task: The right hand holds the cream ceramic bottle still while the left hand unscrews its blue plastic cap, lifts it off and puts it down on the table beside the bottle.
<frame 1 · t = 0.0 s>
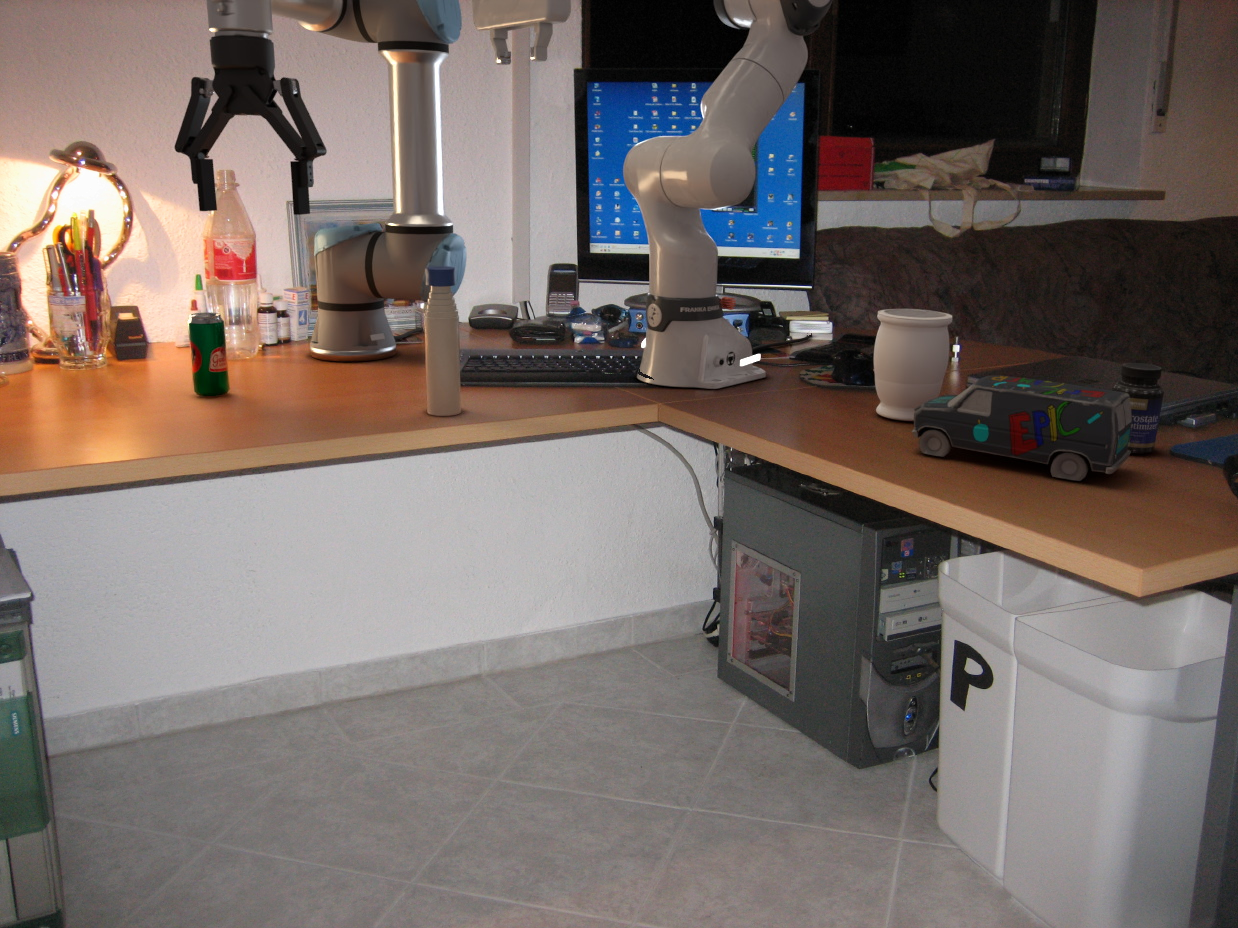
left hand: (254, 213, 138), 28 cm above the table, tool pointing down, fingers open, 13 cm apart
right hand: (520, 63, 148), 48 cm above the table, tool pointing down, fingers open, 8 cm apart
jar: (904, 416, 156), on the table
cap: (440, 270, 148), point 20 cm above the table, screwed on, not yet turned
toy van: (1015, 461, 135), on the table
pill bottle: (1128, 449, 141), on the table
soda can: (212, 395, 161), on the table
bottle: (444, 412, 154), on the table
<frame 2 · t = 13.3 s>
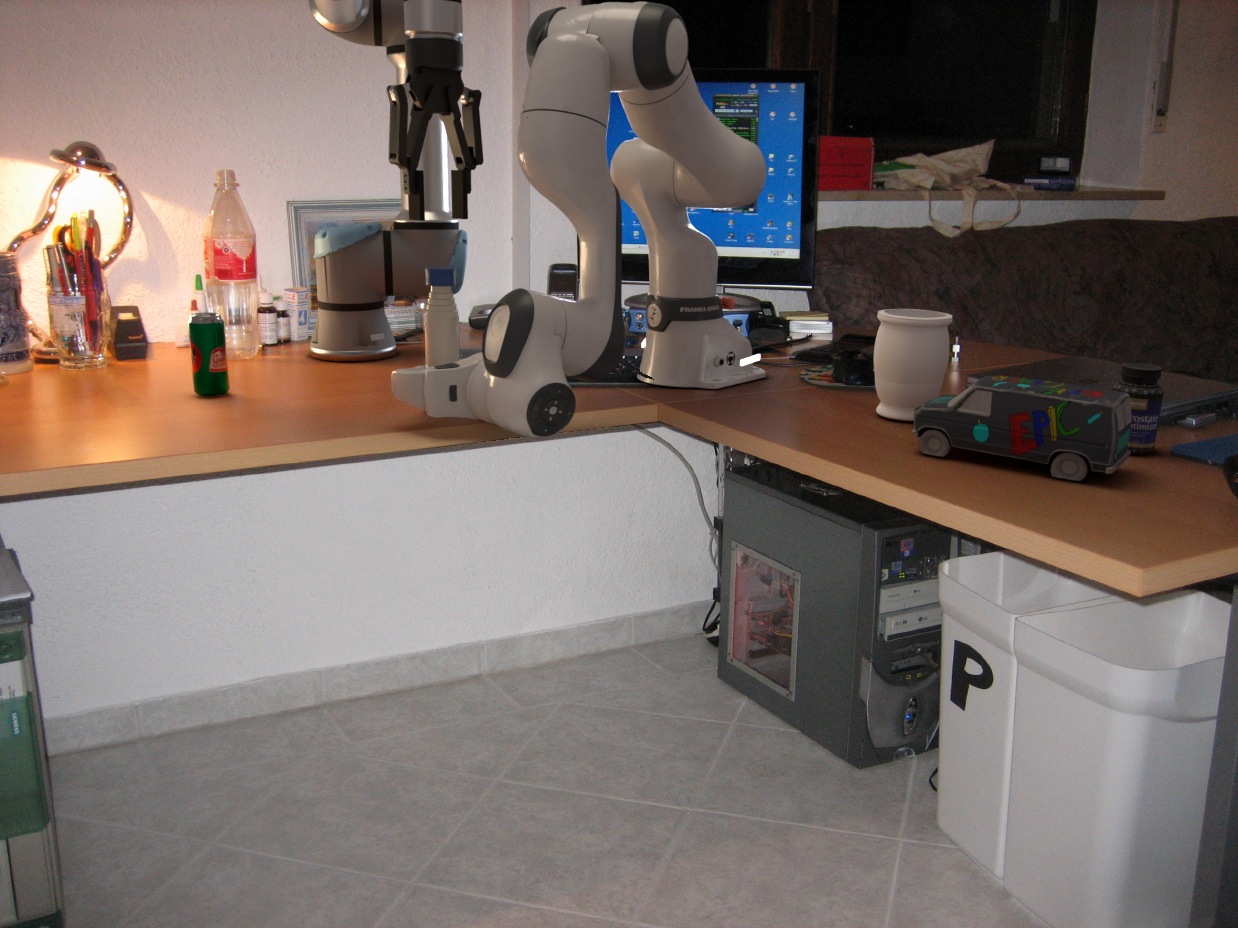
left hand: (438, 219, 146), 27 cm above the table, tool pointing down, fingers open, 6 cm apart
right hand: (439, 369, 153), 6 cm above the table, tool horizontal, fingers closed on bottle, 5 cm apart
bottle: (444, 412, 154), on the table, touching right hand
everything else where it was.
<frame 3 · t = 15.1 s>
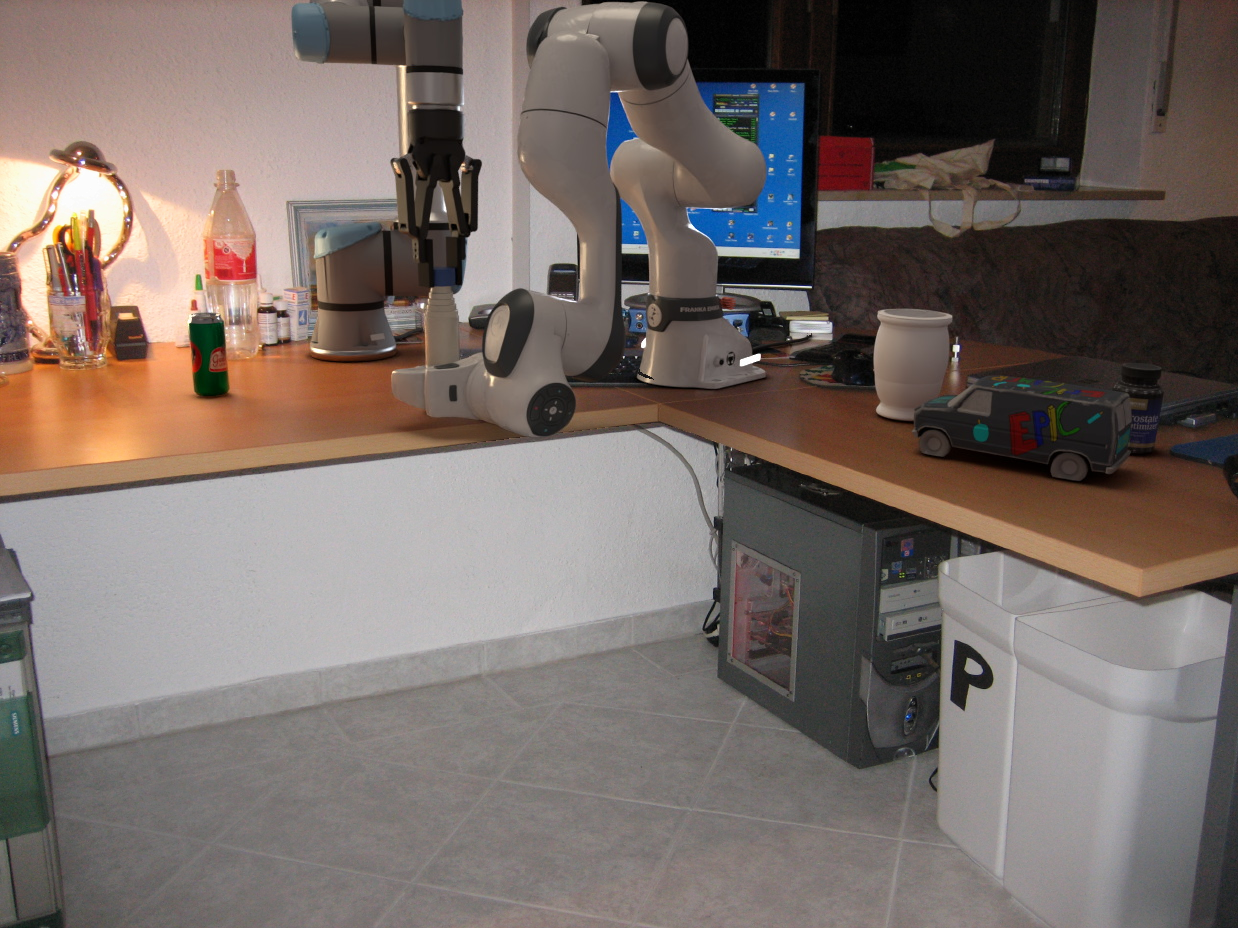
left hand: (440, 285, 149), 18 cm above the table, tool pointing down, fingers closed on cap, 4 cm apart
right hand: (439, 369, 153), 6 cm above the table, tool horizontal, fingers closed on bottle, 5 cm apart
cap: (440, 270, 148), point 20 cm above the table, screwed on, not yet turned, touching left hand
bottle: (444, 412, 154), on the table, touching right hand
everything else where it was.
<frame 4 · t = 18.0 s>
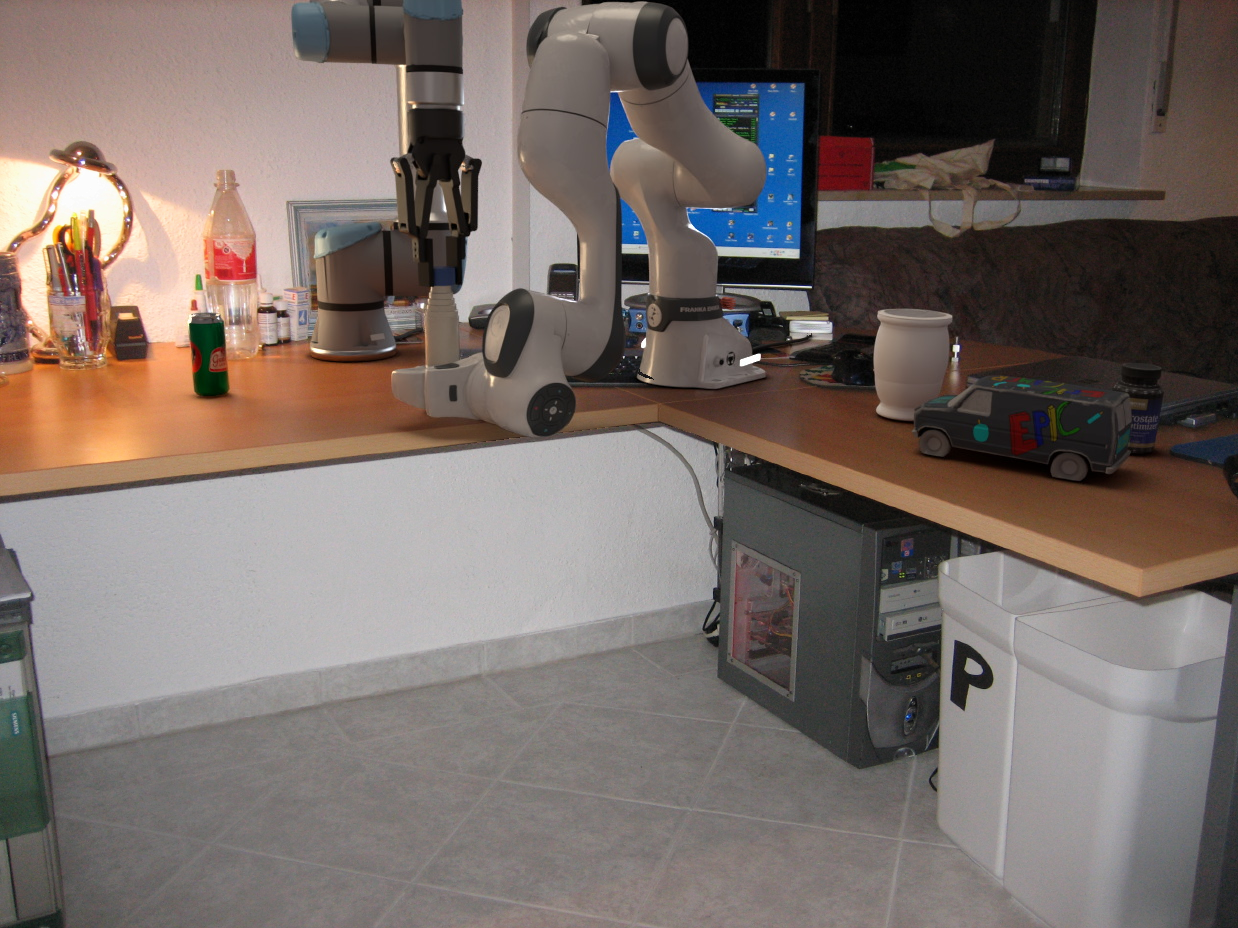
left hand: (440, 284, 149), 18 cm above the table, tool pointing down, fingers closed on cap, 4 cm apart
right hand: (439, 369, 153), 6 cm above the table, tool horizontal, fingers closed on bottle, 5 cm apart
cap: (440, 269, 148), point 20 cm above the table, turned 83° so far, risen 0.1 cm, still on its thread, touching left hand
bottle: (444, 412, 154), on the table, touching right hand
everything else where it was.
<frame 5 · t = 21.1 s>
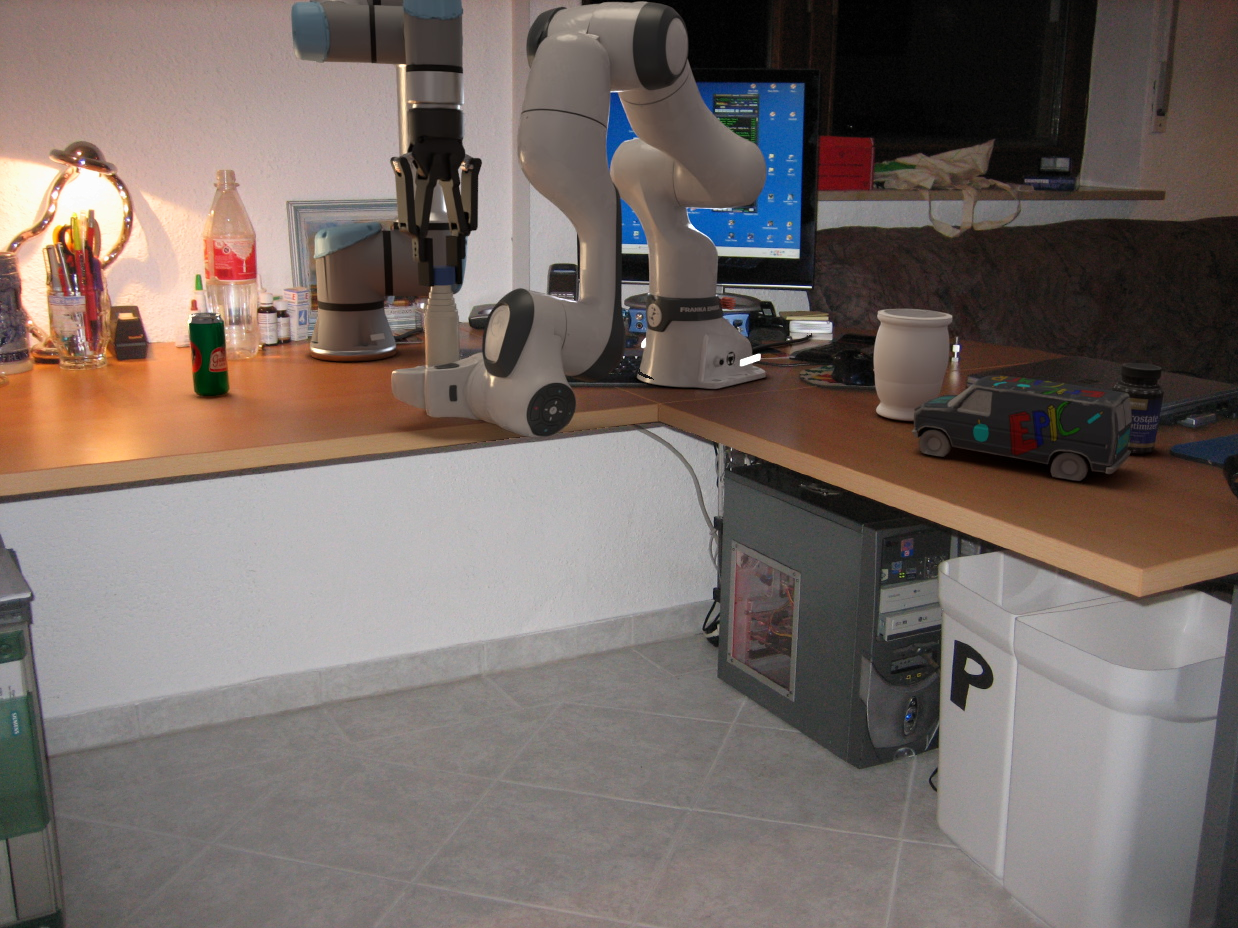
left hand: (440, 284, 149), 18 cm above the table, tool pointing down, fingers closed on cap, 4 cm apart
right hand: (439, 369, 153), 6 cm above the table, tool horizontal, fingers closed on bottle, 5 cm apart
cap: (440, 269, 148), point 20 cm above the table, turned 167° so far, risen 0.1 cm, still on its thread, touching left hand
bottle: (444, 412, 154), on the table, touching right hand
everything else where it was.
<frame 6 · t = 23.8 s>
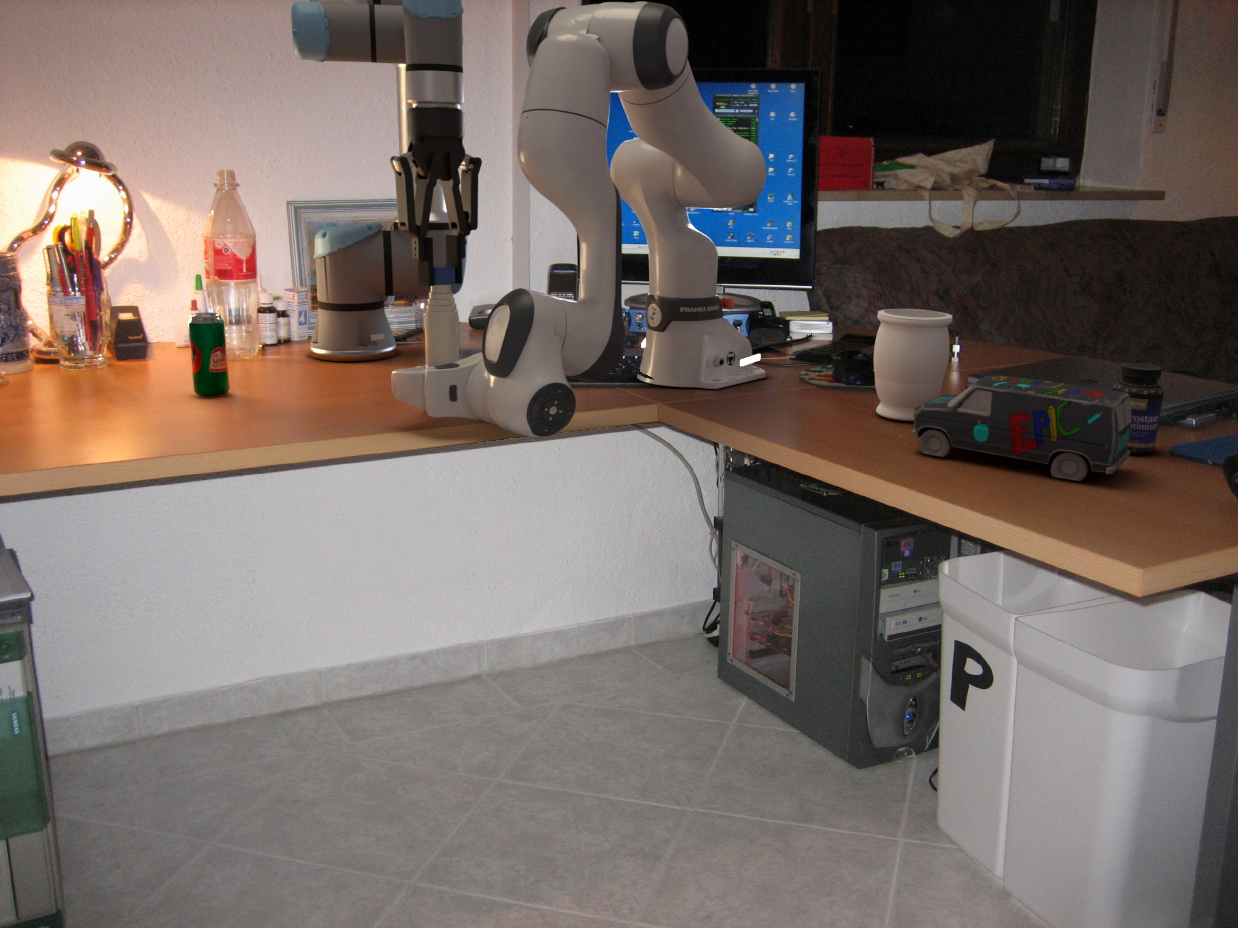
left hand: (440, 283, 149), 18 cm above the table, tool pointing down, fingers closed on cap, 4 cm apart
right hand: (439, 369, 153), 6 cm above the table, tool horizontal, fingers closed on bottle, 5 cm apart
cap: (440, 268, 148), point 20 cm above the table, turned 250° so far, risen 0.2 cm, still on its thread, touching left hand
bottle: (444, 412, 154), on the table, touching right hand
everything else where it was.
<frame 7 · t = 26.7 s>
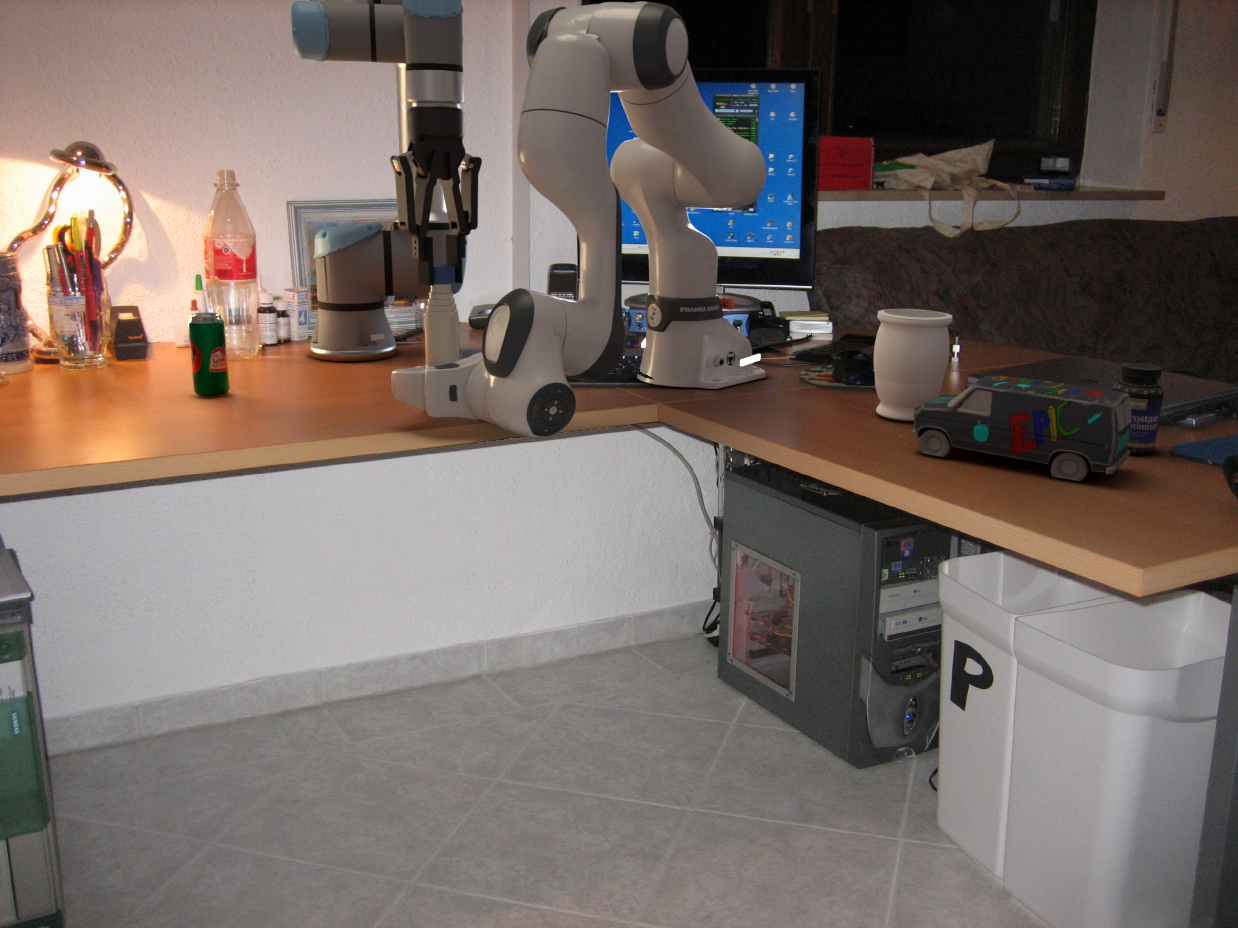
left hand: (440, 283, 149), 18 cm above the table, tool pointing down, fingers closed on cap, 4 cm apart
right hand: (439, 369, 153), 6 cm above the table, tool horizontal, fingers closed on bottle, 5 cm apart
cap: (440, 268, 148), point 21 cm above the table, turned 334° so far, risen 0.3 cm, still on its thread, touching left hand
bottle: (444, 412, 154), on the table, touching right hand
everything else where it was.
when the left hand's fingers open (2 cm above the table, at t = 32.4 s): cap drops 2 cm, point 2 cm above the table.
when the right hand's fingers open (6 cm above the table, at t = 33.7 s): bottle stays where it is, on the table.
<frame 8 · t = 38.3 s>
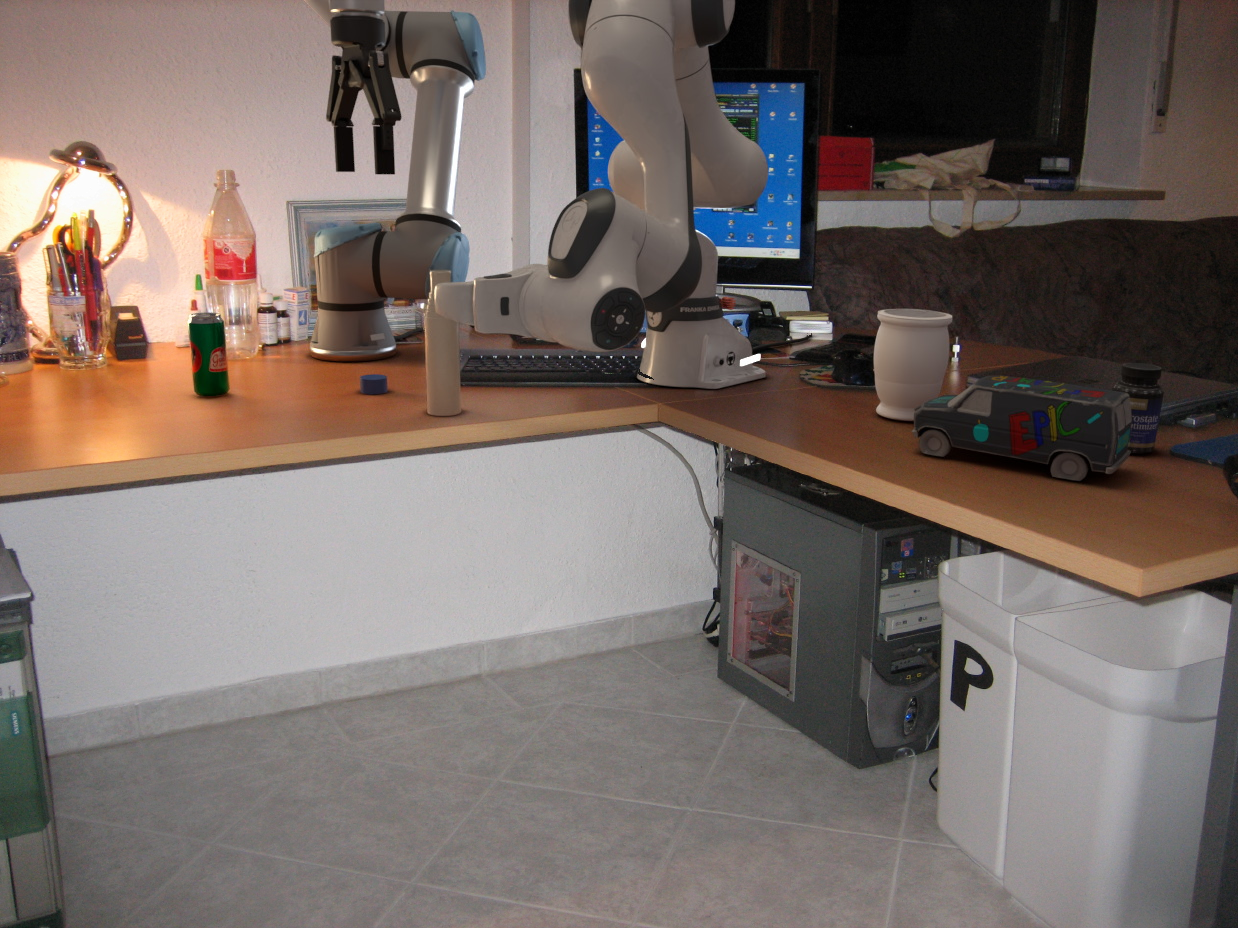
left hand: (364, 173, 156), 33 cm above the table, tool pointing down, fingers open, 13 cm apart
right hand: (485, 289, 139), 19 cm above the table, tool horizontal, fingers open, 8 cm apart
cap: (373, 378, 165), point 2 cm above the table, off its thread
bottle: (444, 412, 154), on the table
everything else where it was.
at the end: cap came off its thread; cap point 2.0 cm above the table; the left hand is holding nothing; the right hand is holding nothing; bottle tilted 0°; bottle moved 0.0 cm from its start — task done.
